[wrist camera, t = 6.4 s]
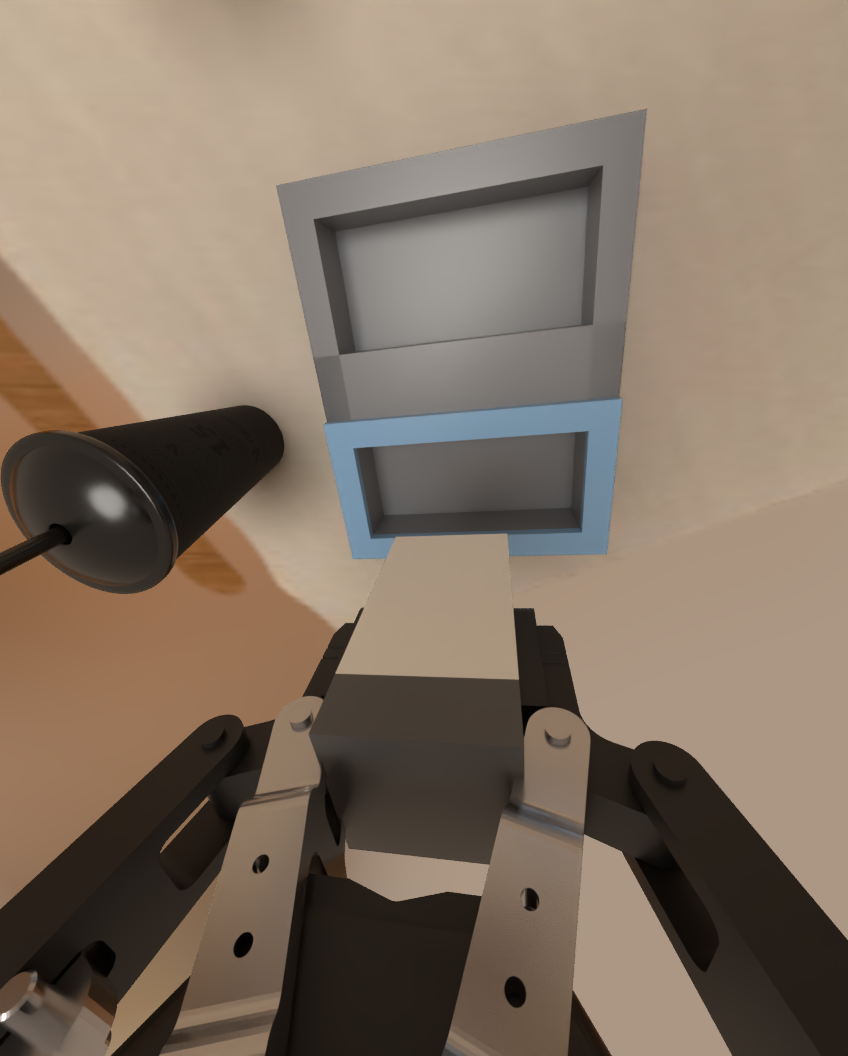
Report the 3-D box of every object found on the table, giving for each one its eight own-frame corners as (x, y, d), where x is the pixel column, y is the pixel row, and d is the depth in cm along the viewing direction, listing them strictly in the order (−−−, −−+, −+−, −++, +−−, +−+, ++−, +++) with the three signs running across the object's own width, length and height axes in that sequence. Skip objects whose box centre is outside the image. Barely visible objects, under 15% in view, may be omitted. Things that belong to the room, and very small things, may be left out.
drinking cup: (279, 507, 32) (11, 741, 14) (190, 452, 31) (-221, 630, 13) (320, 426, 28) (29, 601, 10) (221, 361, 27) (-285, 434, 9)
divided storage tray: (618, 147, 19) (652, 101, 15) (590, 520, 28) (606, 554, 24) (310, 206, 22) (269, 181, 18) (371, 528, 31) (352, 559, 27)
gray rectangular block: (507, 533, 14) (524, 747, 7) (509, 624, 16) (524, 868, 9) (395, 536, 15) (308, 734, 8) (409, 623, 16) (349, 848, 9)
